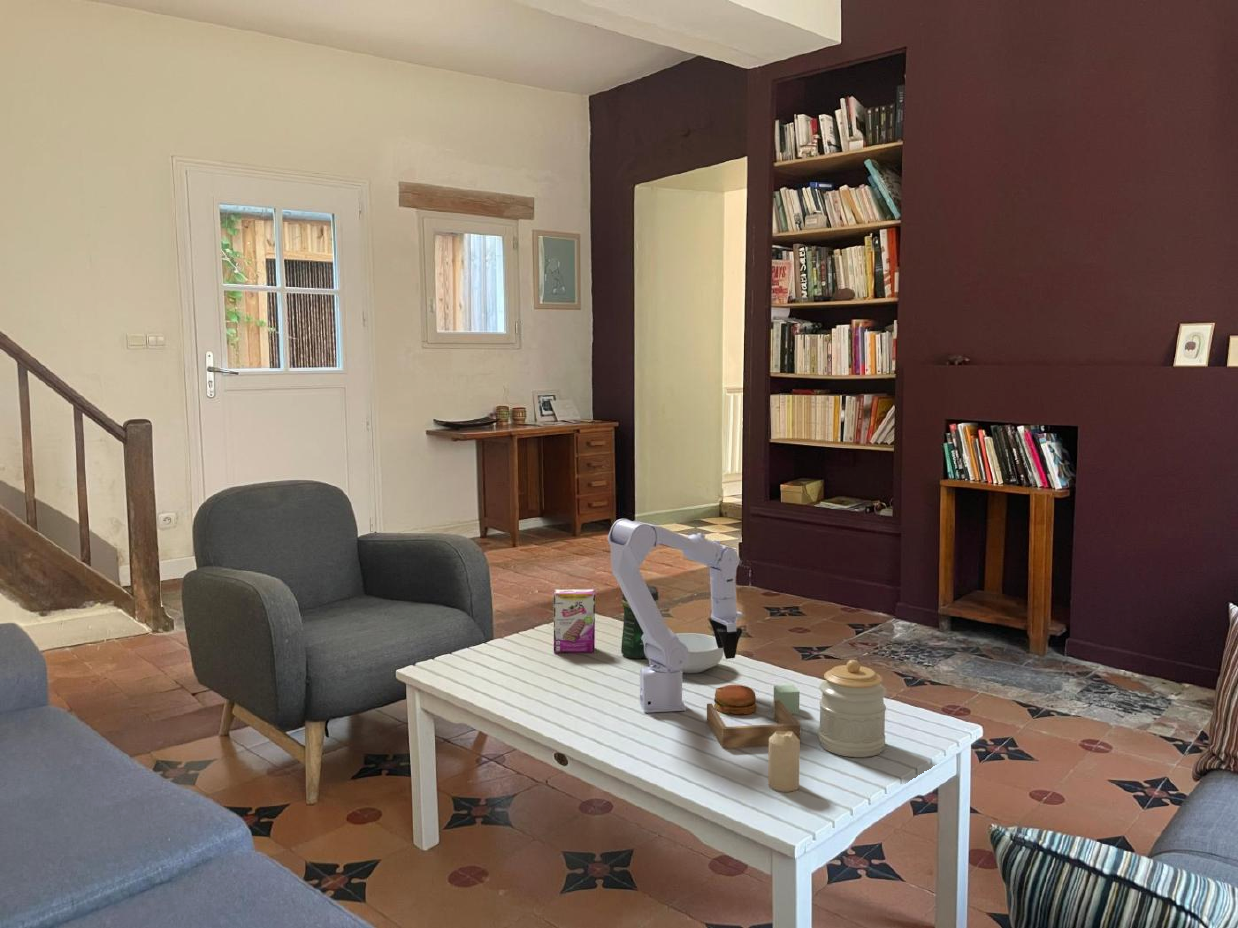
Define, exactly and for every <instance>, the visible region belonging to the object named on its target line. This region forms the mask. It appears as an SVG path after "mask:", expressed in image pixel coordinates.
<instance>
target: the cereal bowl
mask: <svg viewBox="0 0 1238 928" xmlns="http://www.w3.org/2000/svg"><path fill="white" fill-rule="evenodd" d="M674 634H675V635H676V636H677V637H678V639H679V641H680V642H681V643H683V644H685V645H686V647H687V648H688V651H689V658H688V661H687V663H686V665H685V666H684V667H683V670H682V673H686V674H697V673H702V672H704V671H705V670H708V669H711V668H713V667H715V666H716V665H718V664H719V662H721V660H722V659H723V656H724V650H723V648H718V646H717V643H716V639H715V636H713V635H709V634H703V633H693V632H680V633H679V632H678V633H674Z"/></svg>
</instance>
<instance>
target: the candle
mask: <svg viewBox="0 0 1238 928" xmlns="http://www.w3.org/2000/svg"><path fill="white" fill-rule="evenodd" d="M800 745H801V739H800V740H799V739H798V738H797V737H796V736H795V734H794V733H793V732H791V731H788V732H782V731H778V732H777V731H776V732H775V733H774V734H773V735H772V736H771V737H770V738H769V746H768V769H767V770H768V771H767V772H768V773H767V774H768V779H767V780H768V781H767V782H768V783H767V785H768V786H769V788H770V789H772V790H774V791H776V792H777V791H778V792H781V793H782V792H783V793H784V792H785V793H789V792H794V791H796V790H798V789H799V787H800V758H801V757H800V750H801V749H800V748H801V747H800Z"/></svg>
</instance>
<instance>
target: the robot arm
mask: <svg viewBox="0 0 1238 928" xmlns="http://www.w3.org/2000/svg"><path fill="white" fill-rule="evenodd" d="M606 539H607V542H608V544H609V547H610V568H611V572H612V575H613V576H614V578H615V580H616V582H617V584H618V585H619V588H620V589H621V591H622V595H623V594H624V596H625V598H626V600H627V601H628V603H629V605H630V607H631V609H632V611H633V613H634V615H635V617H636V619H637V621H638V623H639V625H640V627H641V629H642V631H643V633H644V634H643V636H642V637H641V639H642V641H643V644H644V653H645V655H646V657H645V658H647V659H648V665H649V666H648V667H643V668H640V671H639V703H640V705H641V708H642V710H643V712H644V713H645V714H647V713H666V712H686V711H687V710H688V709H687V706H686V705H685V703H684V702H683V672H682V670H683V667H684V666H685V665H686V663H687V661H688V658H689V651H688V648H687V647H686V645H685V644H683V643H681V642H680V641H679V639H678V637H677V636H676V635H675V634H676V633H675V632H674V631H672V629H671V628H669V627H668V625H667V623H666V621H665V619H664V617H663V615H662V614H661V612H660V610H659V607H658V605H656V603H655V601H654V599H653V597H652V595H651V593H650V591H649V589H648V587H647V585H648V584H647V583H646V581H645V579H644V577H643V575H642V574H641V572H640V569H639V568H640V567H641V566H642V564H643V563H644V561H645V560H646V558H647V557H648V555H649V554H650V552H651V551H652V549H653V548H658V546H660V545H661V544H662V545H665V546H668V547H671V548H674V549H677V550H680V551H682V555H683V556H684V558H685V559H687V560H690V561H693V562H695V563H698V564H702V565H704V566H706V567H707V568H709V584H710V602H711V603H710V604H711V614H710V617H709V618H707V620H708V621H709V624H710V626H711V629H712V630H713V634H714V637H715V639H716V643H717V646H718V648H723V650H724V652H723V656H724V658H725V659H726V660H728V659H729V660H730V659H735V658H736V654H737V650H738V649H737V648H738V643H739V641H740V638H741V636H742V633H743V629H742V628H741V627H739V628H738V627H737V620H738V618H741V617H743V613H742V612H741V611H738V610H737V594H736V591H737V589H736V588H737V587H736V576H737V568H738V566H739V564H740V560H741V558H740V556H739V555H738V552H737V551H736V549H735V548H733V547H731V546H729V545H723V544H721V541H720V540H717V539H714V540H712V539H709V538H706V535H705V534H702V533H699V532H697V533H696V534H695V533H694V534H689V535H688V536H684V535H682V534H680V533H677V532H675V531H672V530H670V529H669V528H665V527H663V526H660V525H656V524H653V523H652V524H651V523H647V522H642V521H639V520H638V521H637V520H633V521H632V520H630V519H628V518H620V519H617V520H616V521H614V523H613V524H612V525H611V527H610V530H609V533H608V535H607V538H606Z"/></svg>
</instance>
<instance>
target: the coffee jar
mask: <svg viewBox="0 0 1238 928" xmlns="http://www.w3.org/2000/svg"><path fill="white" fill-rule="evenodd" d="M646 585H647V587H648V589H649V591H650V593H651V595H652V597H653V599H654V601H655V603H656V605H657V606H658V605H659V601H660V599H659V589H658V588H657V587H656V586H654V585H650V584H646ZM621 604H622V606H623V607H622V608H623V626H622V627H623V628H622V636H621V647H620V648H621V650H620V651H621V652H620V653H621V654H622V655H623V656H625V657H626V658H629V659H630V658H631V659H644V658H647V657H646V655H645V653H644V644H643V641H642V639H641V637H642V636H643V634H644V633H643V631H642V629H641V627H640V625H639V623H638V621H637V619H636V617H635V615H634V613H633V611H632V609H631V607H630V605H629V603H628V601H627V600H626V598H625V596H624V594H623V593H622V596H621Z"/></svg>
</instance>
